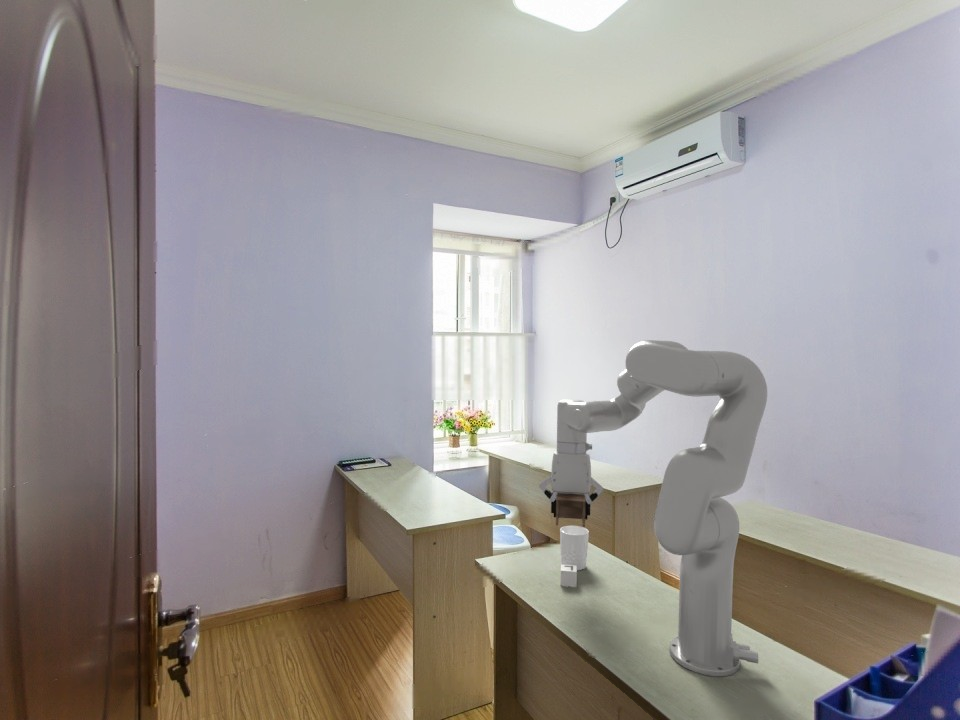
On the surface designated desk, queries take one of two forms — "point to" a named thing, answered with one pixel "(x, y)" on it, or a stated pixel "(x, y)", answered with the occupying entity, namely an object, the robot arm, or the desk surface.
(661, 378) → the robot arm
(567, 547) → the white cup
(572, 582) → the cube
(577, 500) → the brown open box
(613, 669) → the desk surface
